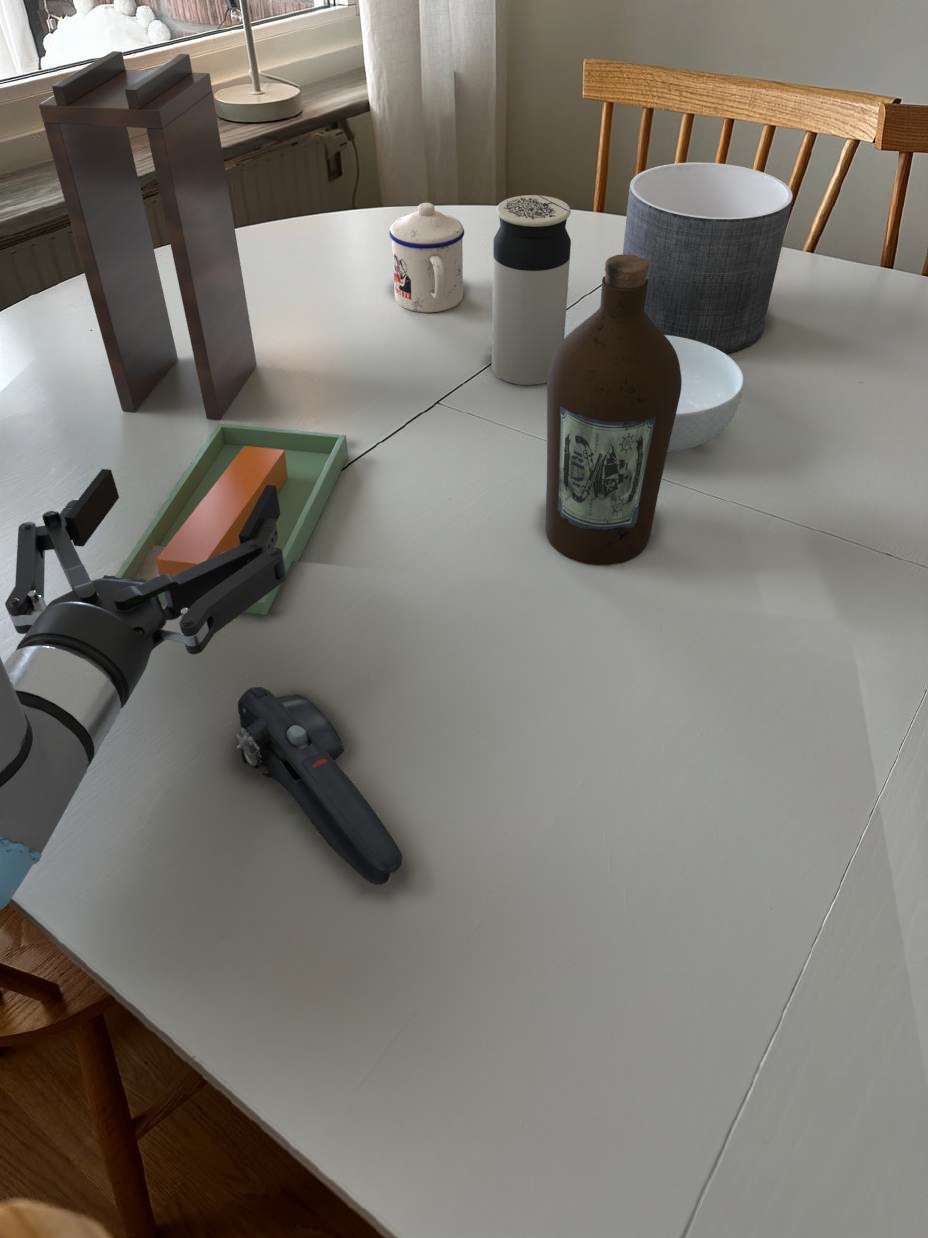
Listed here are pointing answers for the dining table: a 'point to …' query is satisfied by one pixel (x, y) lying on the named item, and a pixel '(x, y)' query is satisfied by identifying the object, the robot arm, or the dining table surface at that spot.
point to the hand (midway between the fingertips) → (191, 490)
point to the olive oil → (609, 423)
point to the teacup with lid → (427, 260)
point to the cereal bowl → (703, 393)
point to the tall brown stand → (119, 232)
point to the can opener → (315, 777)
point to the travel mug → (529, 287)
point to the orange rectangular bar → (224, 509)
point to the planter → (708, 248)
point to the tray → (299, 498)
